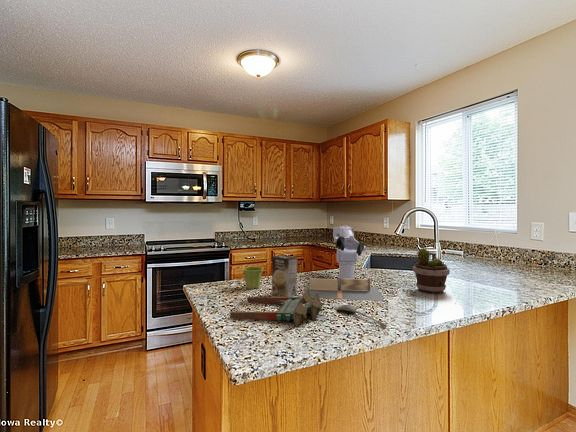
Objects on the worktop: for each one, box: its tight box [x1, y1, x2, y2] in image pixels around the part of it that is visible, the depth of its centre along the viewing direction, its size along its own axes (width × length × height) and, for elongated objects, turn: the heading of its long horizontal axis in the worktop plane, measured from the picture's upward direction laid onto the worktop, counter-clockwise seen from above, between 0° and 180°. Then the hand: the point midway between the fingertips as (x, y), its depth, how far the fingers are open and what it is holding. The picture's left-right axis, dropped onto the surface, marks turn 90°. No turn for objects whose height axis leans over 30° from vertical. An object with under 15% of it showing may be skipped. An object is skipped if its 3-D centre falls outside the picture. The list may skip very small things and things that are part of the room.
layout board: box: [301, 276, 386, 302], centre depth 135 cm, size 22×32×6 cm
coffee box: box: [271, 254, 298, 297], centre depth 133 cm, size 9×6×16 cm
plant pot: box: [242, 266, 264, 290], centre depth 145 cm, size 9×9×9 cm
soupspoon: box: [335, 304, 388, 329], centre depth 106 cm, size 22×3×7 cm
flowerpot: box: [412, 246, 451, 295], centre depth 140 cm, size 14×15×20 cm
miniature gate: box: [229, 290, 326, 329], centre depth 111 cm, size 27×6×30 cm
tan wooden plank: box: [341, 278, 371, 291], centre depth 138 cm, size 12×1×5 cm, turn 82°
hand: (351, 251), depth 137 cm, fingers open, 7 cm apart
